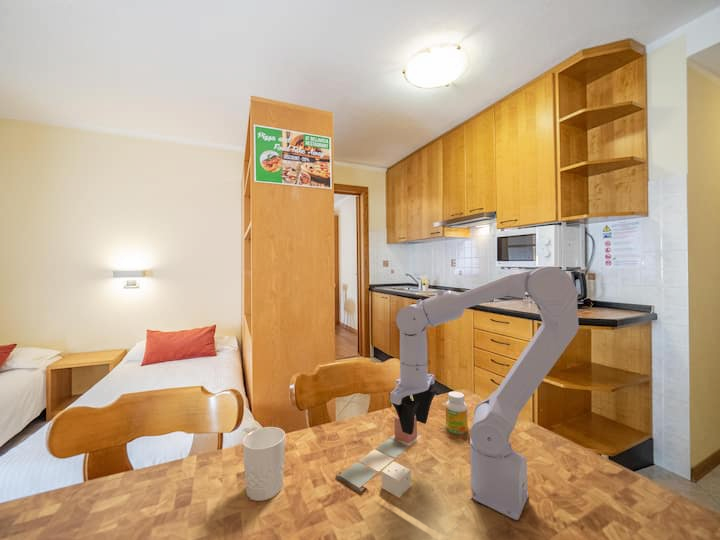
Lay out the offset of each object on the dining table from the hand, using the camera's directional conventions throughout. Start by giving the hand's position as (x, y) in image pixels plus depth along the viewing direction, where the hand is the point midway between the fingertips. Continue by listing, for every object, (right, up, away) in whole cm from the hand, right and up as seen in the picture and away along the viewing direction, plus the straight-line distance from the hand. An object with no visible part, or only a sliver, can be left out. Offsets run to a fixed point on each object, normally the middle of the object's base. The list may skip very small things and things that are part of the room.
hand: (414, 427), depth 63 cm
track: (-6, -10, +5) cm, 12 cm away
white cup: (-30, -10, -4) cm, 32 cm away
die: (-5, -10, -5) cm, 12 cm away
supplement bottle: (+14, -10, +16) cm, 23 cm away
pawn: (0, -9, +12) cm, 15 cm away
